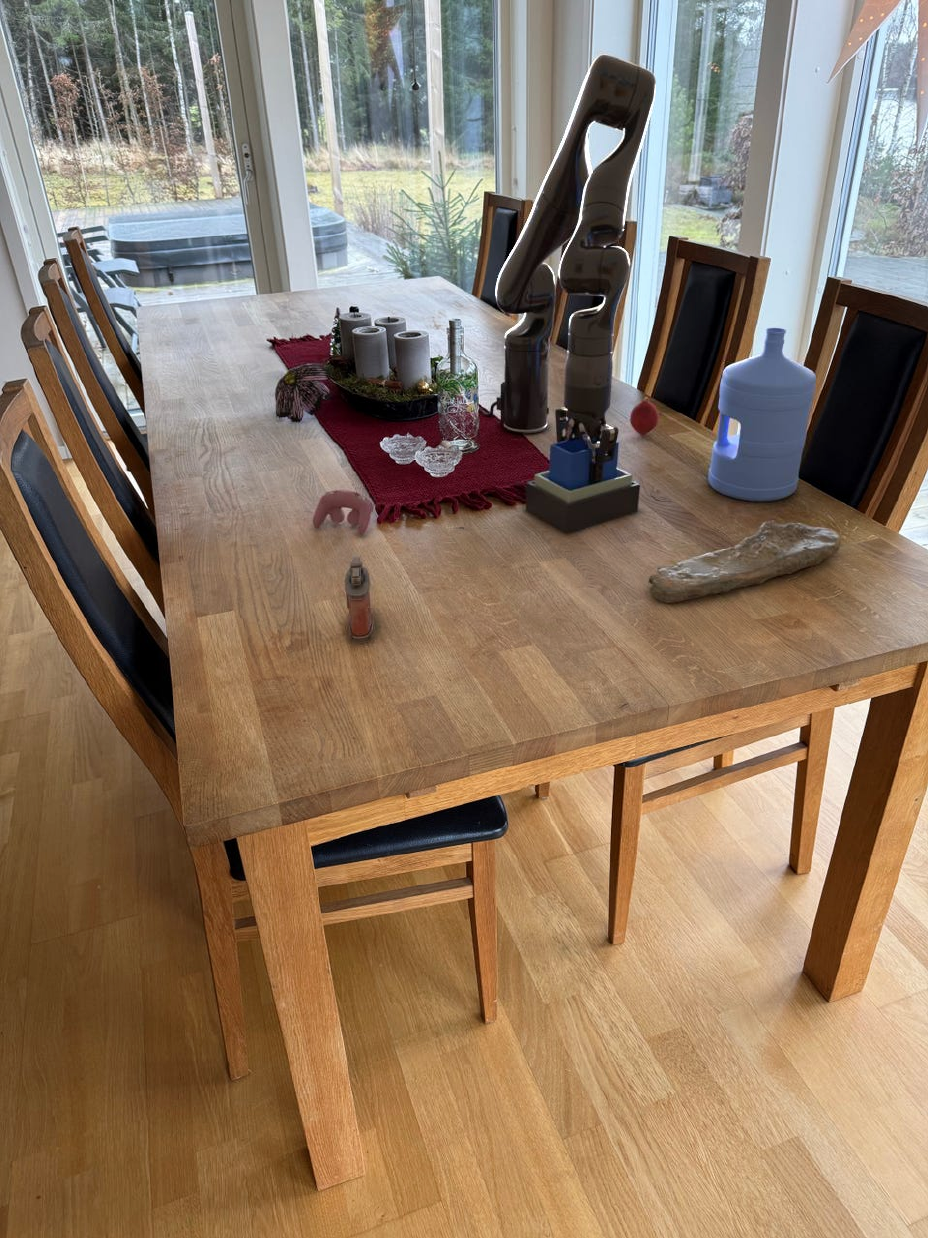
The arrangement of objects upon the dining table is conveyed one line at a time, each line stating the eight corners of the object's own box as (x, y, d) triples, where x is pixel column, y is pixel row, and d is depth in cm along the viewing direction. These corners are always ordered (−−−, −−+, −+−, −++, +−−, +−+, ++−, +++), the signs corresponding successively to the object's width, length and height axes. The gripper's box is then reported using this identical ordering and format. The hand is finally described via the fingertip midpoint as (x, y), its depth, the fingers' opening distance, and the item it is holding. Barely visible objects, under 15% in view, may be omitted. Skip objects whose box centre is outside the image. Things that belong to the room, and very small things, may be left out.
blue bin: (569, 494, 149) (571, 454, 145) (548, 483, 153) (550, 444, 149) (616, 481, 153) (619, 442, 150) (594, 470, 158) (596, 432, 154)
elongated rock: (630, 591, 134) (672, 625, 127) (633, 561, 131) (675, 594, 124) (807, 530, 146) (854, 558, 139) (813, 502, 143) (862, 528, 136)
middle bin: (567, 527, 149) (569, 492, 146) (533, 507, 156) (534, 474, 153) (629, 508, 155) (632, 474, 152) (594, 489, 162) (596, 457, 159)
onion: (656, 440, 185) (660, 402, 181) (628, 439, 186) (631, 401, 182) (656, 431, 190) (660, 393, 185) (629, 429, 191) (632, 392, 186)
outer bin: (566, 534, 148) (567, 505, 146) (525, 510, 157) (526, 482, 154) (637, 511, 155) (640, 484, 153) (595, 489, 164) (596, 463, 161)
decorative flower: (252, 368, 201) (312, 341, 203) (269, 408, 210) (327, 382, 212) (272, 403, 192) (335, 374, 194) (289, 443, 201) (349, 415, 203)
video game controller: (373, 535, 153) (378, 494, 152) (362, 534, 148) (367, 492, 148) (321, 527, 156) (326, 487, 155) (309, 526, 151) (314, 485, 150)
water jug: (801, 476, 167) (830, 323, 152) (789, 509, 155) (819, 345, 140) (716, 465, 173) (737, 315, 158) (699, 495, 161) (719, 336, 146)
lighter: (350, 613, 128) (343, 550, 123) (373, 611, 128) (368, 549, 123) (348, 643, 121) (341, 578, 116) (373, 642, 121) (368, 577, 116)
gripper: (636, 385, 140) (627, 485, 149) (578, 364, 151) (574, 459, 160) (598, 394, 137) (592, 495, 146) (542, 372, 147) (540, 468, 156)
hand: (582, 476), depth 153 cm, fingers closed on blue bin, 6 cm apart
